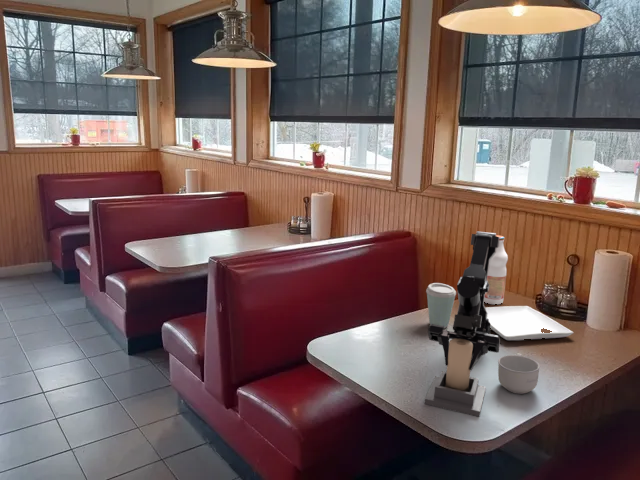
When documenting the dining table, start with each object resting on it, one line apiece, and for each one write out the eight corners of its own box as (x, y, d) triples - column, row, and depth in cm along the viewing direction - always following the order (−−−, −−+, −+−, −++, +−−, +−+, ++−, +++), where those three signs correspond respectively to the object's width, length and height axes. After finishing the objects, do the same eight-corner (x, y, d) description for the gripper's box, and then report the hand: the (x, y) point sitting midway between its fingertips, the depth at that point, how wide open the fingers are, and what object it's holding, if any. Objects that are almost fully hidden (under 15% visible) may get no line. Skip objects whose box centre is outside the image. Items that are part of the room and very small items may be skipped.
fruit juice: (495, 306, 215) (502, 240, 208) (475, 300, 222) (481, 235, 215) (507, 302, 220) (515, 237, 214) (488, 296, 227) (494, 233, 221)
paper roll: (456, 380, 145) (460, 336, 142) (473, 390, 140) (477, 344, 137) (440, 385, 142) (444, 340, 139) (457, 395, 137) (461, 349, 134)
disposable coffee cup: (458, 325, 193) (462, 286, 189) (444, 333, 185) (447, 293, 182) (432, 318, 200) (436, 280, 196) (418, 325, 192) (421, 286, 188)
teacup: (532, 402, 141) (535, 375, 139) (491, 390, 146) (494, 364, 145) (541, 381, 152) (544, 356, 151) (503, 371, 158) (506, 347, 156)
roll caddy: (434, 380, 151) (436, 366, 150) (485, 391, 145) (487, 377, 144) (424, 403, 138) (425, 388, 137) (479, 416, 133) (481, 400, 132)
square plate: (505, 346, 177) (506, 335, 176) (464, 317, 203) (465, 307, 202) (573, 341, 183) (575, 330, 182) (526, 313, 209) (527, 304, 208)
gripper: (431, 296, 143) (419, 349, 136) (503, 307, 136) (495, 363, 128) (435, 313, 152) (424, 364, 144) (502, 325, 145) (494, 379, 137)
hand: (458, 367), depth 138 cm, fingers closed on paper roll, 6 cm apart
